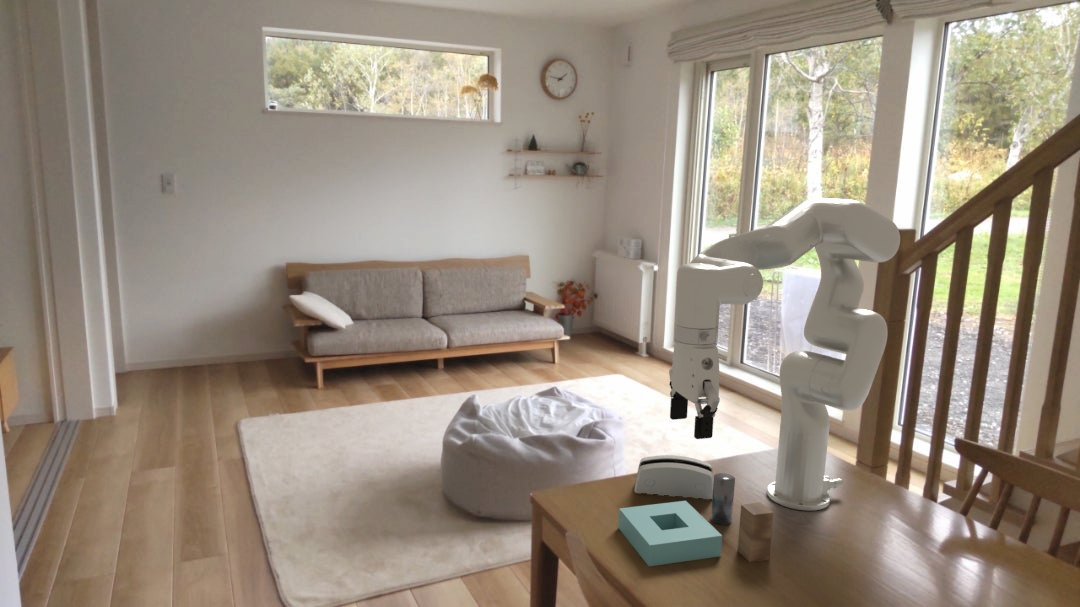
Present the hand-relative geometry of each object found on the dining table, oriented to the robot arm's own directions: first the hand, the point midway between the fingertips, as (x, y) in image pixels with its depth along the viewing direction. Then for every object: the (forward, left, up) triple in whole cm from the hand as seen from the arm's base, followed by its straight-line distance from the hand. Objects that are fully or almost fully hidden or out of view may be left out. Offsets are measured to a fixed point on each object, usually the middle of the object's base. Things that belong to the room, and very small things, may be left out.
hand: (690, 427), depth 129 cm
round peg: (-12, -6, -23) cm, 26 cm away
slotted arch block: (-8, -19, -23) cm, 31 cm away
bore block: (+2, -1, -23) cm, 23 cm away
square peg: (-11, +7, -23) cm, 26 cm away
